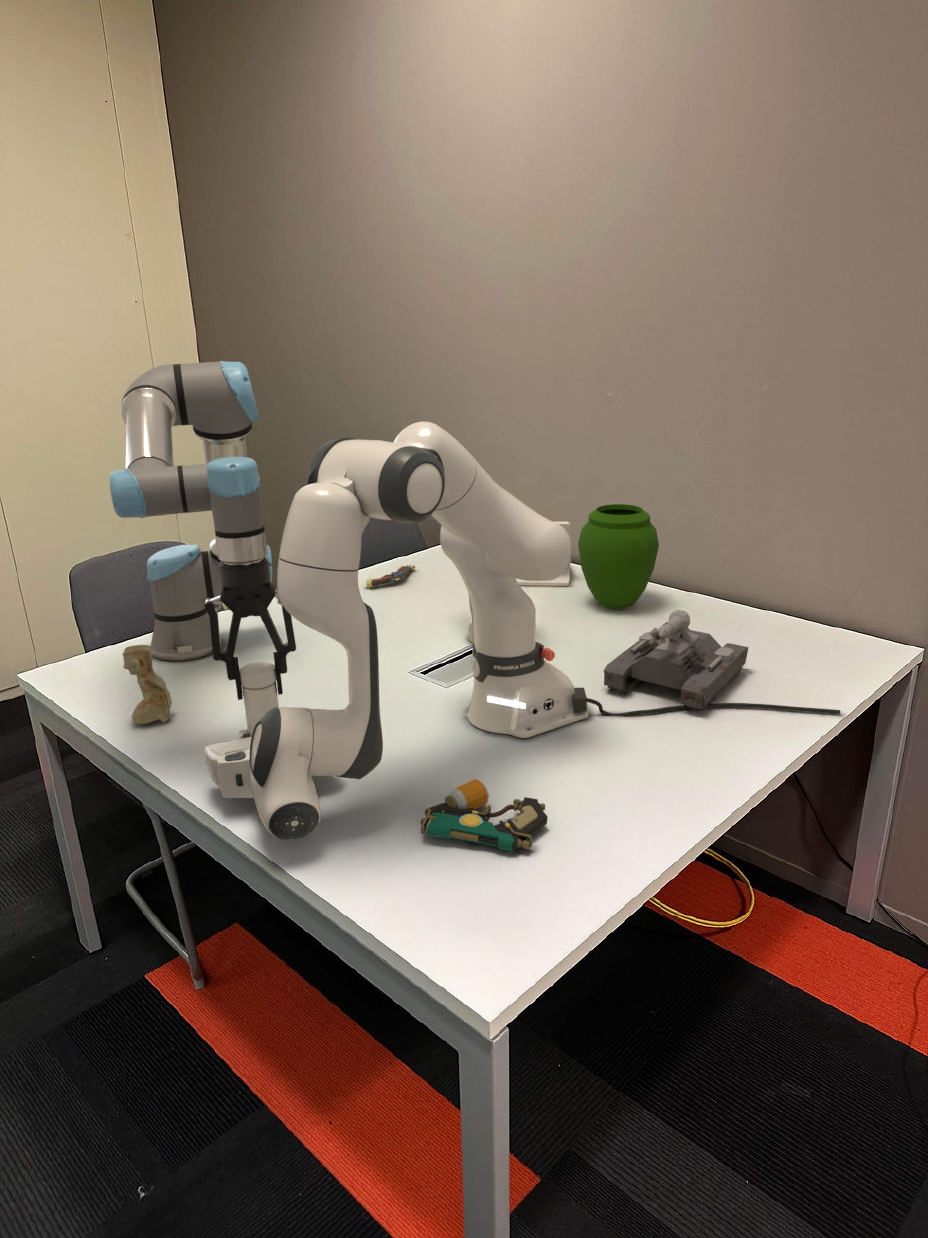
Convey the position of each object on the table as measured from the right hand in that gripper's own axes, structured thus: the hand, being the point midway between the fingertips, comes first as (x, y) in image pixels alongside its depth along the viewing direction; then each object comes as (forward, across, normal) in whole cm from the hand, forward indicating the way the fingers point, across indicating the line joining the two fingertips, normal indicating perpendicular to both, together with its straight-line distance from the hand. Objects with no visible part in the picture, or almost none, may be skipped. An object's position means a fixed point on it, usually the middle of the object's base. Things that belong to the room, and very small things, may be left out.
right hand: (264, 729), depth 144 cm
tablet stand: (+76, -82, +6) cm, 112 cm away
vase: (+44, -93, +6) cm, 103 cm away
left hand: (-1, 0, -7) cm, 7 cm away
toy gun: (+88, -47, +6) cm, 101 cm away
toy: (-1, -81, +6) cm, 82 cm away
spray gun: (-33, -27, +6) cm, 43 cm away
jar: (-1, 0, +6) cm, 6 cm away
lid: (-1, 0, -11) cm, 11 cm away
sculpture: (+24, +18, +6) cm, 30 cm away
